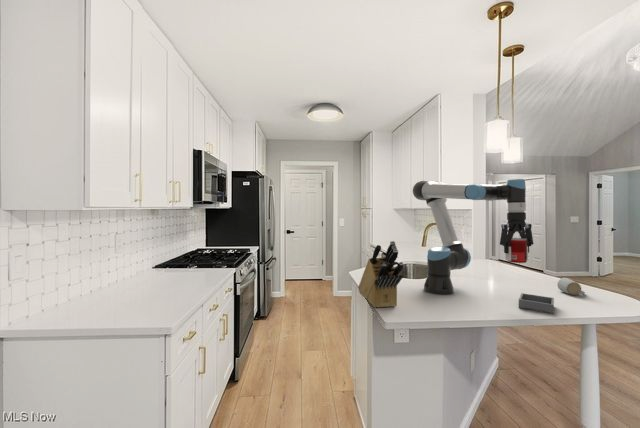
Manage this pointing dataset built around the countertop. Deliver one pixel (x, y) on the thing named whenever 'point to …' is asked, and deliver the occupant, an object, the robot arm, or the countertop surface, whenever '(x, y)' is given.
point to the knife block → (381, 278)
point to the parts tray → (536, 303)
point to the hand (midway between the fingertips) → (516, 260)
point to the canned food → (518, 250)
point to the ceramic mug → (569, 286)
